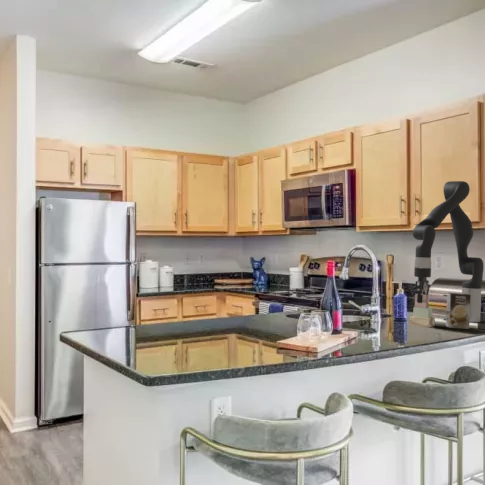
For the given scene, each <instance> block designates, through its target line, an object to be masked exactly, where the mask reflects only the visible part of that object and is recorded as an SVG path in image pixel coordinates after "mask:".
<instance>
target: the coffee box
mask: <svg viewBox="0 0 485 485" xmlns="http://www.w3.org/2000/svg"><path fill="white" fill-rule="evenodd" d="M446 298H447V299H446V315H445V326H446V327H447V328H449V329H464V330H465V329H466V330H468V329H470V322H469V319H470V298H471V295H470V294H462V292H461V293H458V292H447V297H446Z"/></svg>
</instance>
